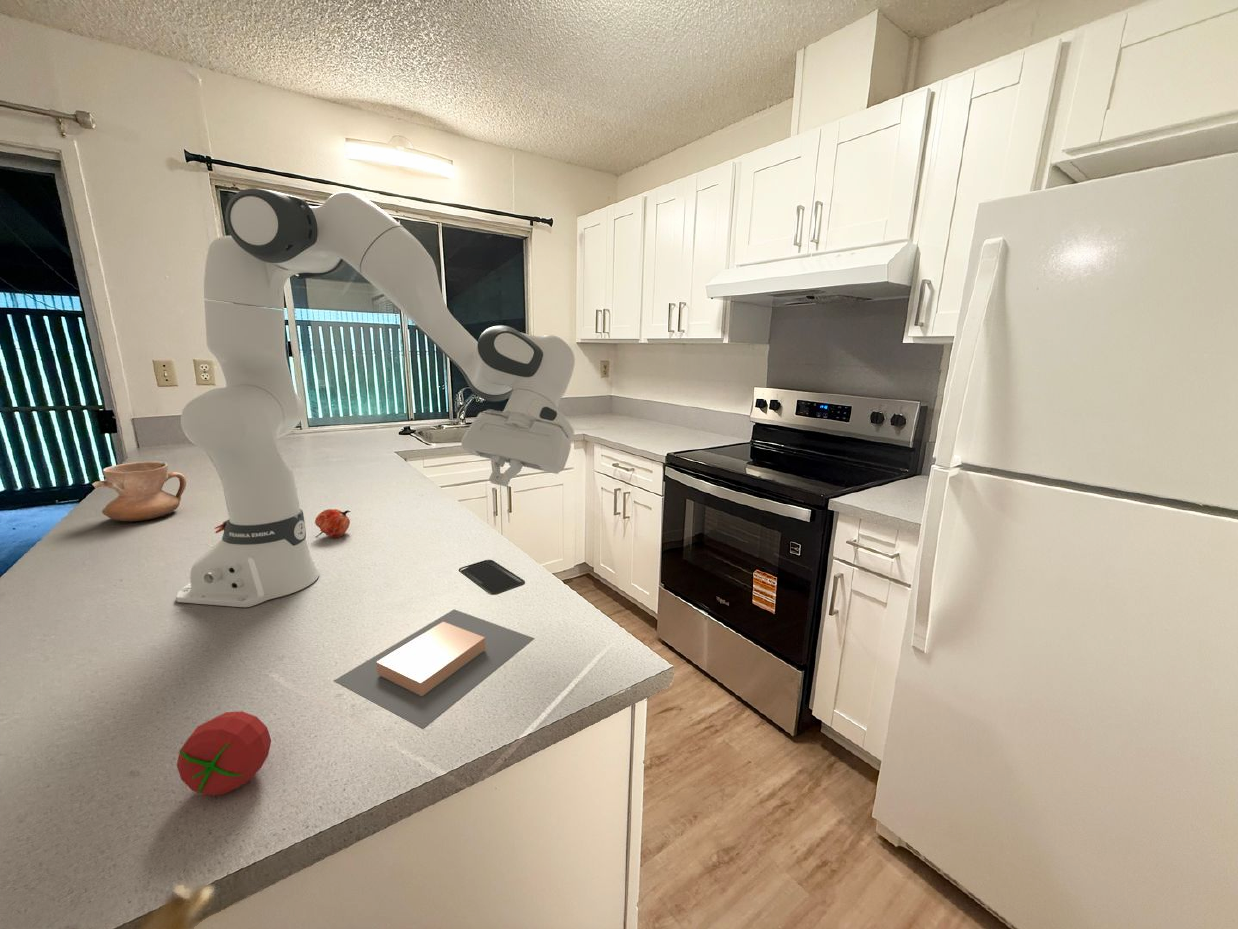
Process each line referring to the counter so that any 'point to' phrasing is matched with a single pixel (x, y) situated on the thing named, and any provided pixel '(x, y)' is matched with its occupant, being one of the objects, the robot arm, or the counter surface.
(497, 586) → the phone
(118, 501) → the ceramic jug
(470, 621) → the mat
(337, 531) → the pomegranate
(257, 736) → the tomato
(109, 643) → the counter surface
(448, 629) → the tile
